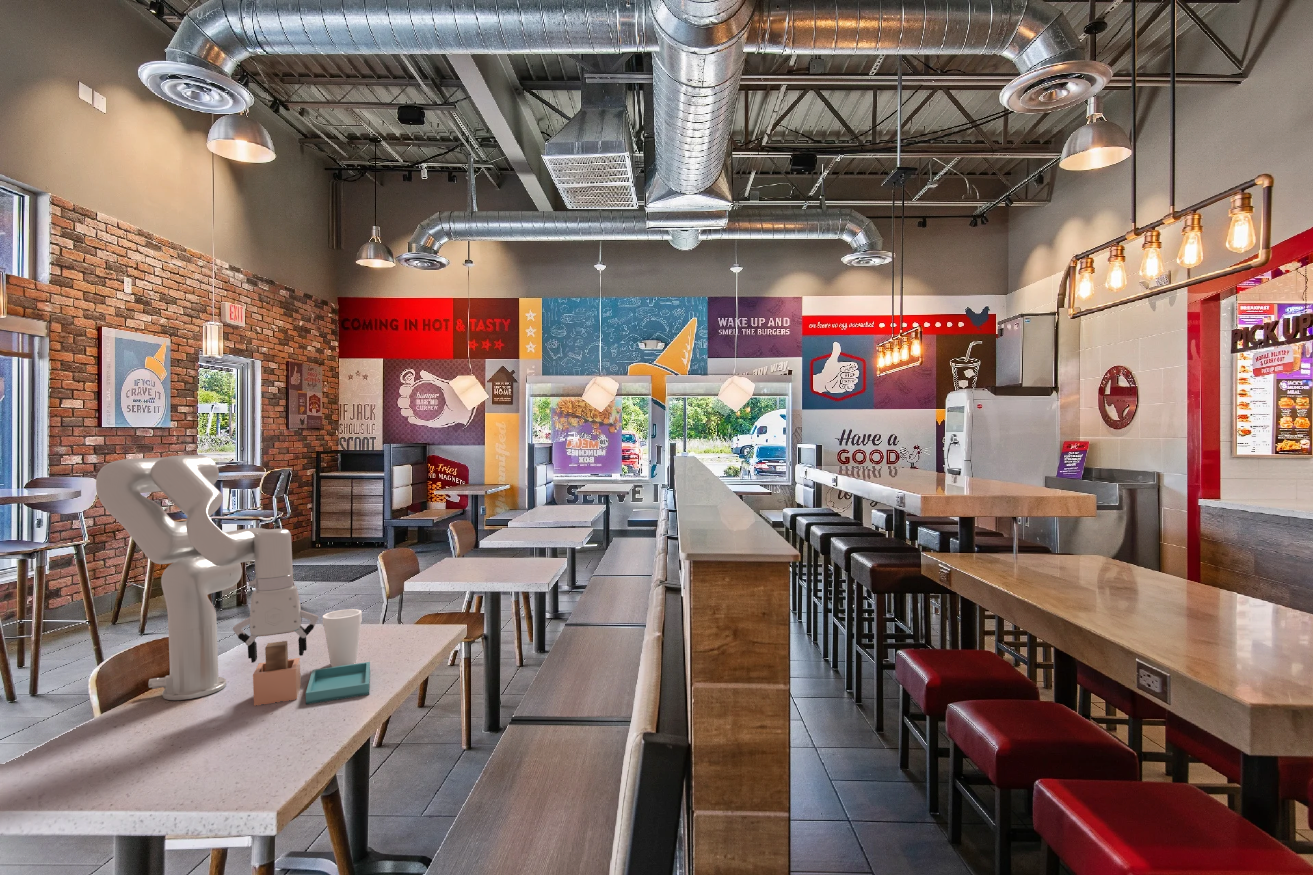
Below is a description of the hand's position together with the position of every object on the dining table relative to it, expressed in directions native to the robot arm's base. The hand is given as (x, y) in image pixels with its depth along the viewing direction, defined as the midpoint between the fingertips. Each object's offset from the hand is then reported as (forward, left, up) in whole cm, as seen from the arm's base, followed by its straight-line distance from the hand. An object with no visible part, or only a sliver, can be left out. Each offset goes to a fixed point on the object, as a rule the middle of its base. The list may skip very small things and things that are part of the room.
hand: (278, 657), depth 159 cm
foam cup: (+13, +19, -9) cm, 25 cm away
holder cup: (0, 0, -9) cm, 9 cm away
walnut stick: (0, 0, -9) cm, 9 cm away
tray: (+13, 0, -9) cm, 16 cm away
